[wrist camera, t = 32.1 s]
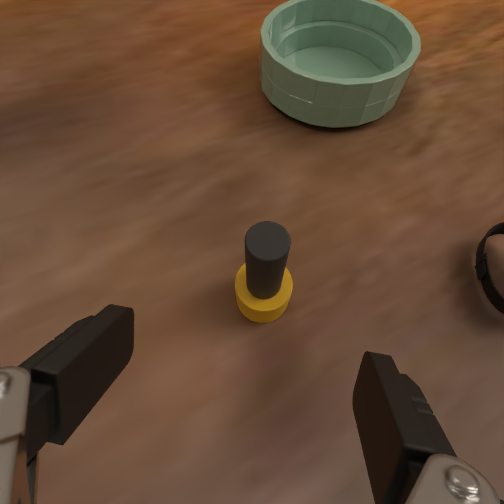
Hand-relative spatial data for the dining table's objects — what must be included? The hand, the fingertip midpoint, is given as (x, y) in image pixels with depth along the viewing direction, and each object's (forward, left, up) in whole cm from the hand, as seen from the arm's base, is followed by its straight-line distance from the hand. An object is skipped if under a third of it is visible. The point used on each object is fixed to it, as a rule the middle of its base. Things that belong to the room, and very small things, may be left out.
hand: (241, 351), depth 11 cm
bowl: (-8, +32, -12) cm, 35 cm away
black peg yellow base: (-2, +6, -12) cm, 14 cm away
